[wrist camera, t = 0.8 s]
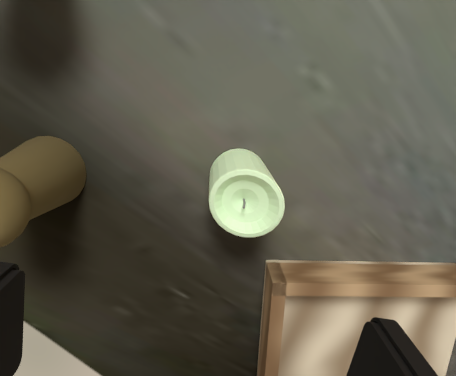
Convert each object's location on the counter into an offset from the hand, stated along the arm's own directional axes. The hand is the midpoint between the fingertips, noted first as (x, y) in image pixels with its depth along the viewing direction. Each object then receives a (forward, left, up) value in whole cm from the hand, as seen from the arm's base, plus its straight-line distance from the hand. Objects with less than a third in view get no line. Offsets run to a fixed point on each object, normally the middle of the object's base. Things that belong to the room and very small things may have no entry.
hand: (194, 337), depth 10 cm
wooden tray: (-16, +19, -22) cm, 33 cm away
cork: (+13, +1, -22) cm, 26 cm away
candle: (-3, +1, -22) cm, 22 cm away
